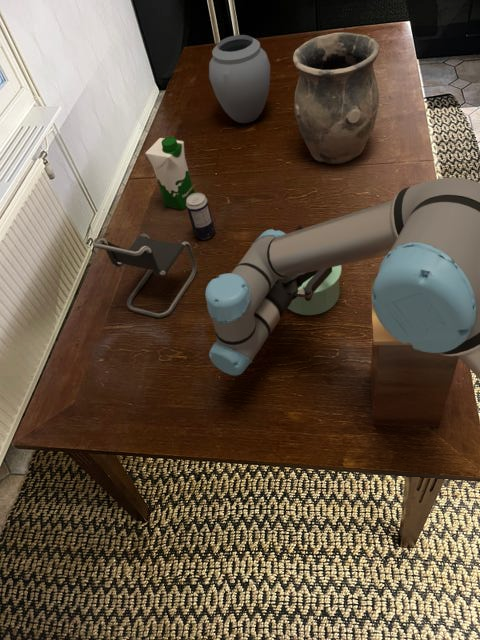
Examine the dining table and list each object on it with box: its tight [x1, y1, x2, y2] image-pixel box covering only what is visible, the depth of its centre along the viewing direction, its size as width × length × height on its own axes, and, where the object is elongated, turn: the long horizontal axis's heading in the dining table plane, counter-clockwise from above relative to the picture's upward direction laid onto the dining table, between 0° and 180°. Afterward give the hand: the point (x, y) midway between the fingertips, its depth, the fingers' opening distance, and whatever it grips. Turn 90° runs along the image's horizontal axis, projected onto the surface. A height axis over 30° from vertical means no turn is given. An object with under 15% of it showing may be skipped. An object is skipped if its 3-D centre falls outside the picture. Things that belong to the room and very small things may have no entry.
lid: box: [298, 265, 343, 294], centre depth 115 cm, size 15×15×10 cm
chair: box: [92, 233, 197, 319], centre depth 124 cm, size 13×17×22 cm
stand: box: [369, 273, 460, 428], centre depth 92 cm, size 14×14×28 cm
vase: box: [208, 34, 271, 124], centre depth 169 cm, size 20×20×24 cm
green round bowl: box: [287, 279, 341, 316], centre depth 121 cm, size 14×14×8 cm
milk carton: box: [145, 136, 196, 211], centre depth 147 cm, size 9×9×20 cm
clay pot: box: [292, 31, 380, 165], centre depth 146 cm, size 22×23×30 cm
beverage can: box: [186, 192, 216, 240], centre depth 138 cm, size 6×6×12 cm
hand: (317, 235), depth 115 cm, fingers open, 7 cm apart
